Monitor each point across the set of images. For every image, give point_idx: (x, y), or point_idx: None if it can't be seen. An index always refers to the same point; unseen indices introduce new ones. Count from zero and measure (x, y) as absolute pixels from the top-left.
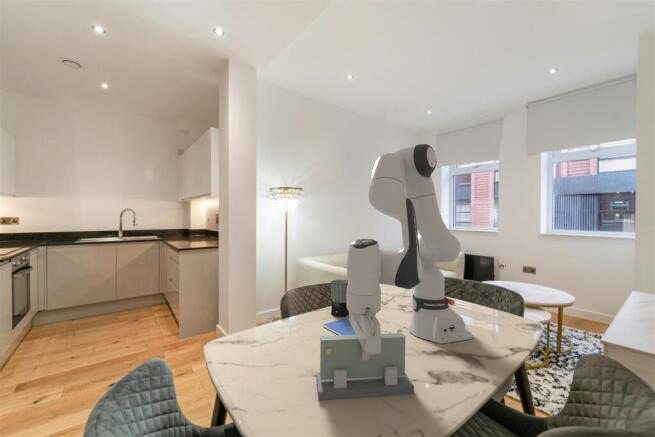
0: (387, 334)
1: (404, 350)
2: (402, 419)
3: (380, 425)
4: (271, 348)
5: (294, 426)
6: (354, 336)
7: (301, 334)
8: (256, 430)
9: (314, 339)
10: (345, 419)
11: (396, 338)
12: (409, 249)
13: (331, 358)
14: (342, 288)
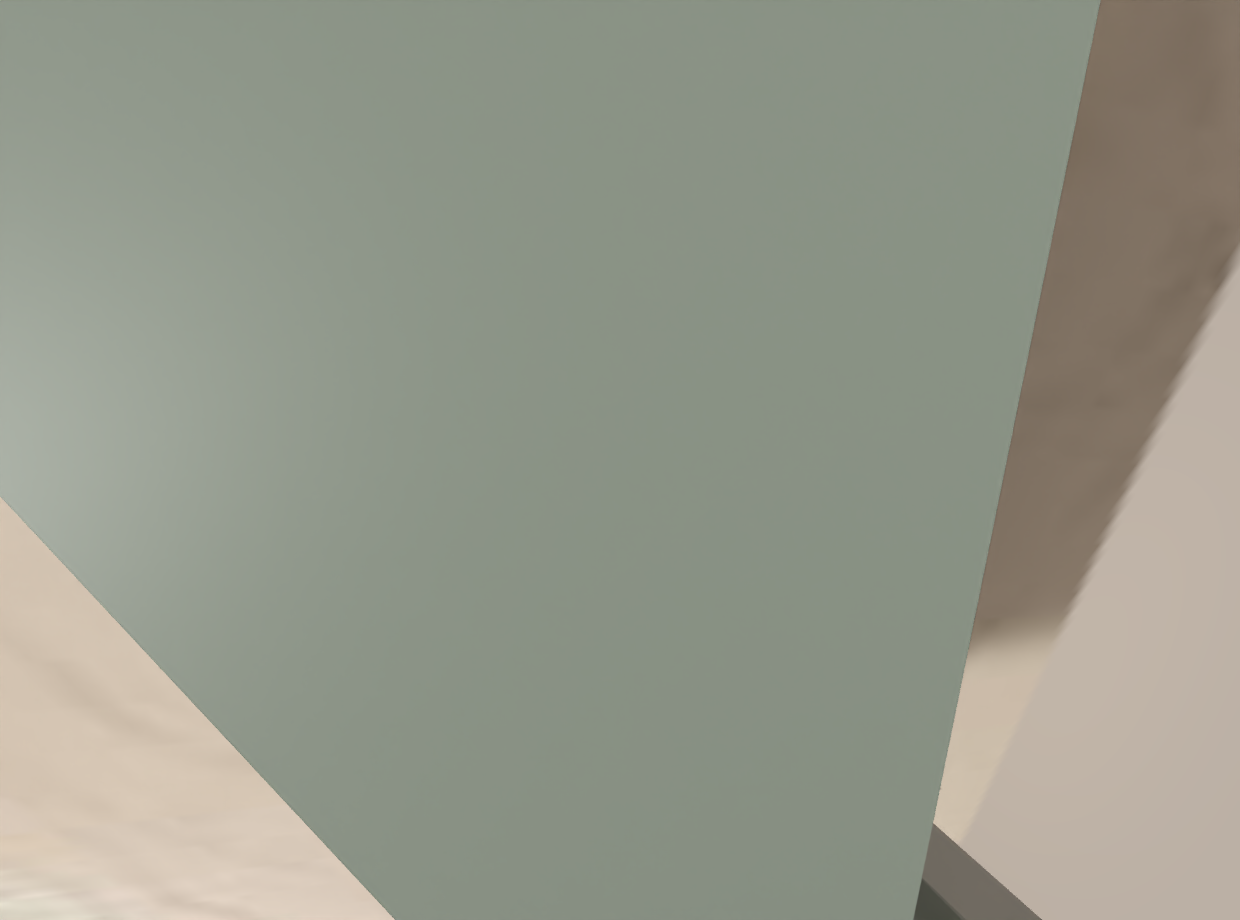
0: (469, 872)
1: None
2: (1134, 174)
3: (1123, 376)
4: (326, 909)
5: (973, 754)
6: None
7: (43, 842)
8: (958, 839)
9: (62, 780)
10: (992, 577)
11: (935, 401)
12: None
13: None
14: None
